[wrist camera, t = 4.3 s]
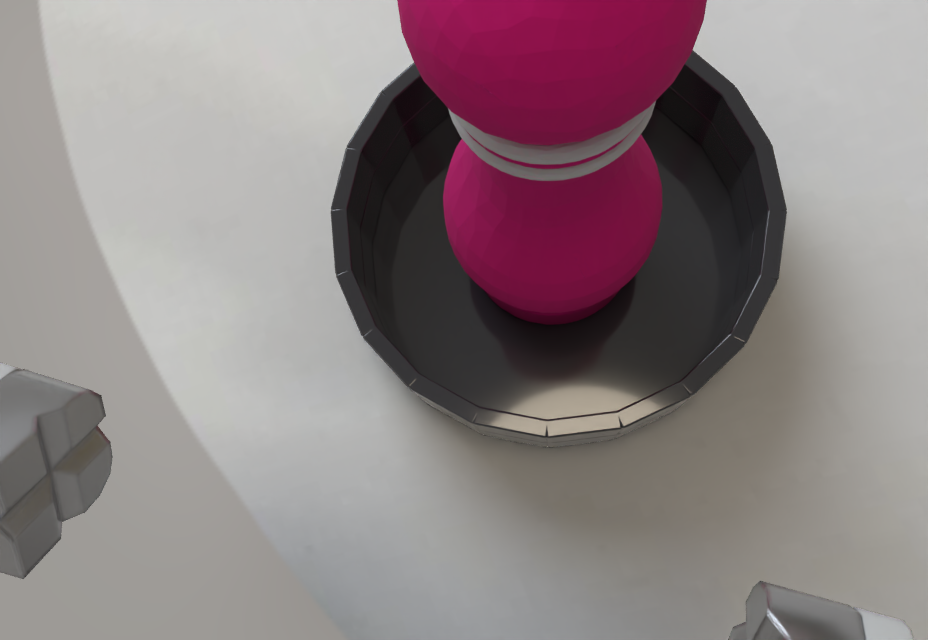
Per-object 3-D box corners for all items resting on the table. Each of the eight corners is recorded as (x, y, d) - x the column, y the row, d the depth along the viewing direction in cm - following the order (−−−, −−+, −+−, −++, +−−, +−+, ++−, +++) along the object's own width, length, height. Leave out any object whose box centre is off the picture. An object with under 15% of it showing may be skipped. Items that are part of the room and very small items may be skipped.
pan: (723, 483, 29) (754, 478, 24) (322, 404, 31) (285, 387, 27) (774, 101, 32) (808, 37, 28) (406, 55, 34) (385, -11, 30)
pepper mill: (682, 281, 30) (915, -128, 11) (513, 372, 30) (441, 122, 11) (587, 129, 32) (639, -454, 13) (427, 214, 32) (232, -243, 13)
